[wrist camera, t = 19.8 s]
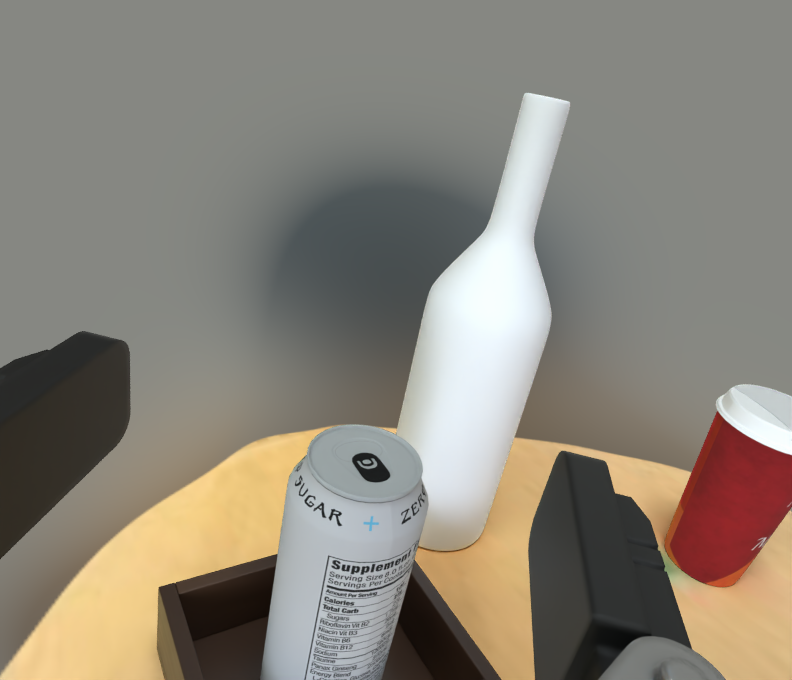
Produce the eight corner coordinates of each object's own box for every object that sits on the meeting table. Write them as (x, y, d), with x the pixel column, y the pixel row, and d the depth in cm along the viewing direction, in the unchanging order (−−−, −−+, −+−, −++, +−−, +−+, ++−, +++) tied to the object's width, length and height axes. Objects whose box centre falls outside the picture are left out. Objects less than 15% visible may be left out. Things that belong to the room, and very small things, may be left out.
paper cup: (773, 607, 44) (874, 452, 38) (671, 589, 43) (757, 430, 37) (724, 530, 51) (802, 389, 45) (636, 515, 50) (704, 371, 44)
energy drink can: (345, 625, 35) (393, 409, 29) (395, 722, 30) (465, 491, 24) (243, 660, 32) (271, 426, 25) (282, 773, 27) (327, 524, 21)
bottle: (420, 567, 41) (551, 100, 28) (360, 491, 46) (447, 75, 34) (505, 533, 45) (652, 119, 33) (441, 468, 51) (545, 94, 38)
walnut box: (375, 575, 39) (388, 522, 37) (483, 743, 31) (507, 686, 29) (156, 647, 32) (158, 586, 30) (218, 893, 24) (226, 830, 22)
